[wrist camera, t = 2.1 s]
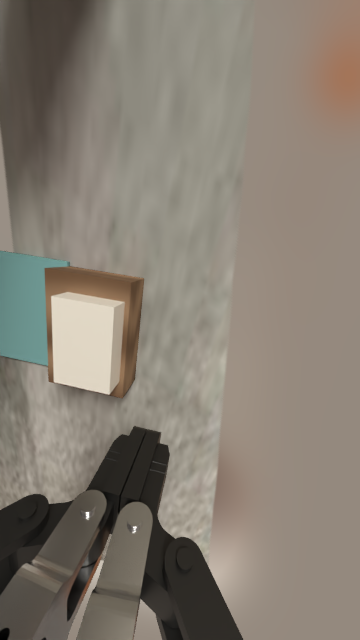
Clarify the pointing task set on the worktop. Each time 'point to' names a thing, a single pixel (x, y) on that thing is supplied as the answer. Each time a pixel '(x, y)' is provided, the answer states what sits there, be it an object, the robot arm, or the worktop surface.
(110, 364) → the tile
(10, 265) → the mat
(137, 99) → the worktop surface
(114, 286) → the board
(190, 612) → the robot arm
